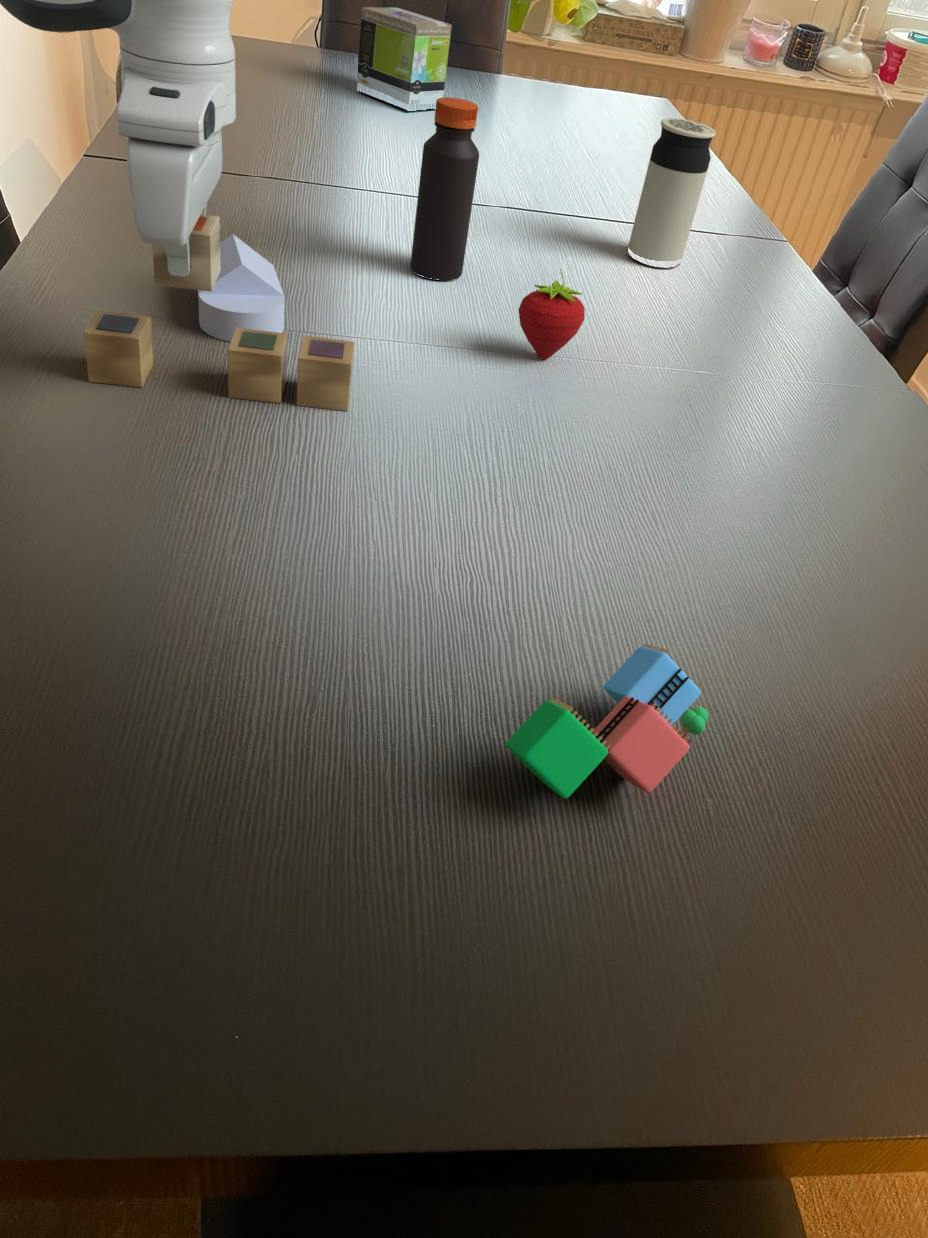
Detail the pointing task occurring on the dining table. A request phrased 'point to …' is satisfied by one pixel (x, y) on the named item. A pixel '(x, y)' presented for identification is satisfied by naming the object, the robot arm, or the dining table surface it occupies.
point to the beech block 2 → (257, 365)
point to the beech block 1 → (118, 349)
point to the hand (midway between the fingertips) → (186, 260)
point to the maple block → (194, 258)
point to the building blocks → (616, 728)
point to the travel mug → (671, 190)
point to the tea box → (403, 54)
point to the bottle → (446, 191)
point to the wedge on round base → (242, 294)
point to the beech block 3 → (324, 373)
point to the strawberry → (551, 317)
